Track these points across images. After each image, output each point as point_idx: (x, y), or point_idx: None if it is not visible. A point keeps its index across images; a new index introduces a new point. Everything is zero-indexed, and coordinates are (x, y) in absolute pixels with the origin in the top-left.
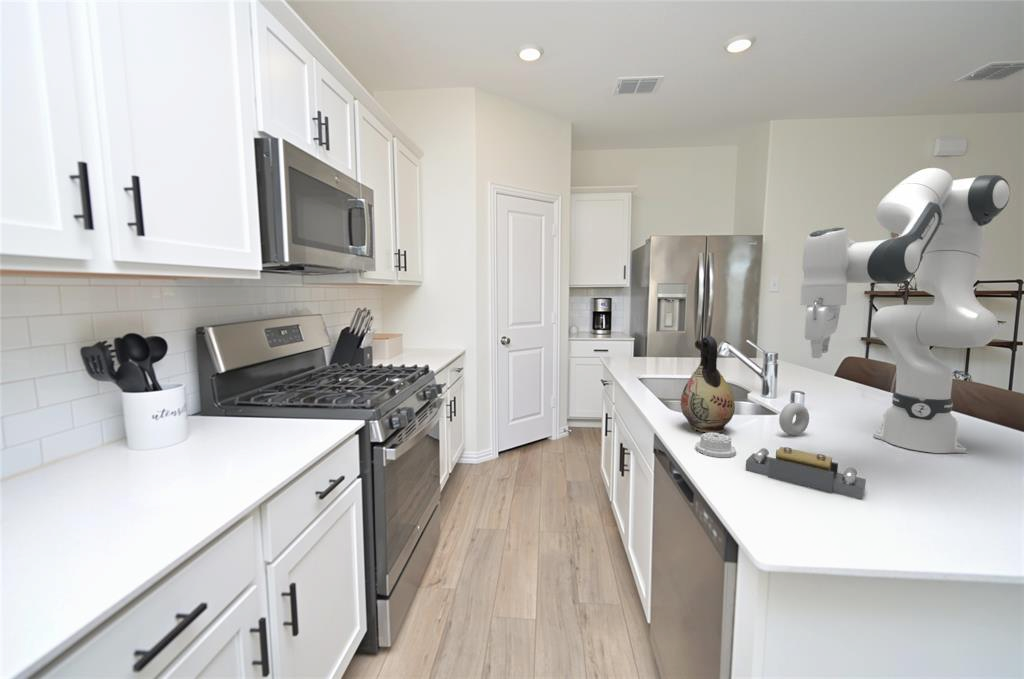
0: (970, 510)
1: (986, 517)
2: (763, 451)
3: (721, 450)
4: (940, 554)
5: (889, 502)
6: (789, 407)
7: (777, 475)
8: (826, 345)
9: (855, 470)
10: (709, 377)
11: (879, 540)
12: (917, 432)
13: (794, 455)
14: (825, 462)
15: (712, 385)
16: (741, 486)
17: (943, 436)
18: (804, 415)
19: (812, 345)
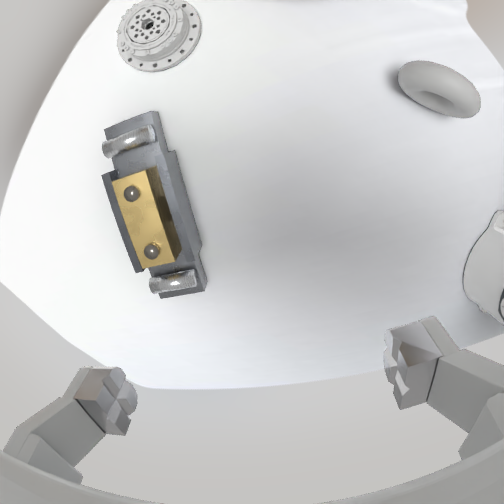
0: (255, 363)
1: (247, 373)
2: (128, 143)
3: (134, 57)
4: (114, 356)
5: (192, 311)
6: (438, 78)
7: None
8: (432, 393)
9: (190, 286)
10: None
11: (87, 322)
12: (484, 286)
13: (122, 213)
14: (140, 262)
15: None
16: (57, 169)
17: (486, 308)
18: (458, 110)
19: (33, 425)
